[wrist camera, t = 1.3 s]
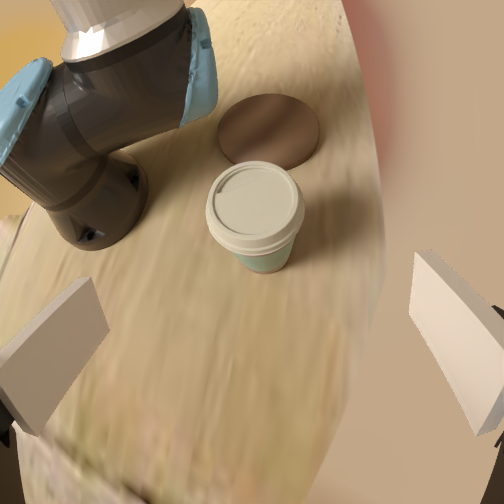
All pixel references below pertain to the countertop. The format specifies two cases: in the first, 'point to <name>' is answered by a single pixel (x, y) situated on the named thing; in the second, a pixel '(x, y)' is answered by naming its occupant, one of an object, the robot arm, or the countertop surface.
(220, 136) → the walnut trivet
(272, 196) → the coffee cup
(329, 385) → the countertop surface
